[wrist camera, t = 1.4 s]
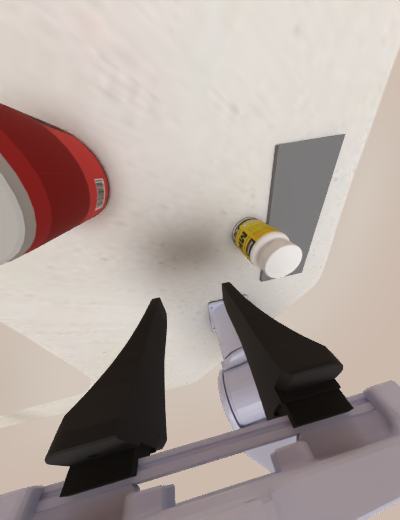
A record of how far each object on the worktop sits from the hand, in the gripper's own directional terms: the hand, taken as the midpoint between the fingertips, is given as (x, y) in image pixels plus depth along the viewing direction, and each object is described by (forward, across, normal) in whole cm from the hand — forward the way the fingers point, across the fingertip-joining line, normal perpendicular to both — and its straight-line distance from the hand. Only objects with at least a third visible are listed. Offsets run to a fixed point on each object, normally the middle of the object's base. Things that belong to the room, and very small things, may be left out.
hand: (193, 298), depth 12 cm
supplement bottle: (+11, -10, 0) cm, 14 cm away
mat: (+10, -16, 0) cm, 20 cm away
